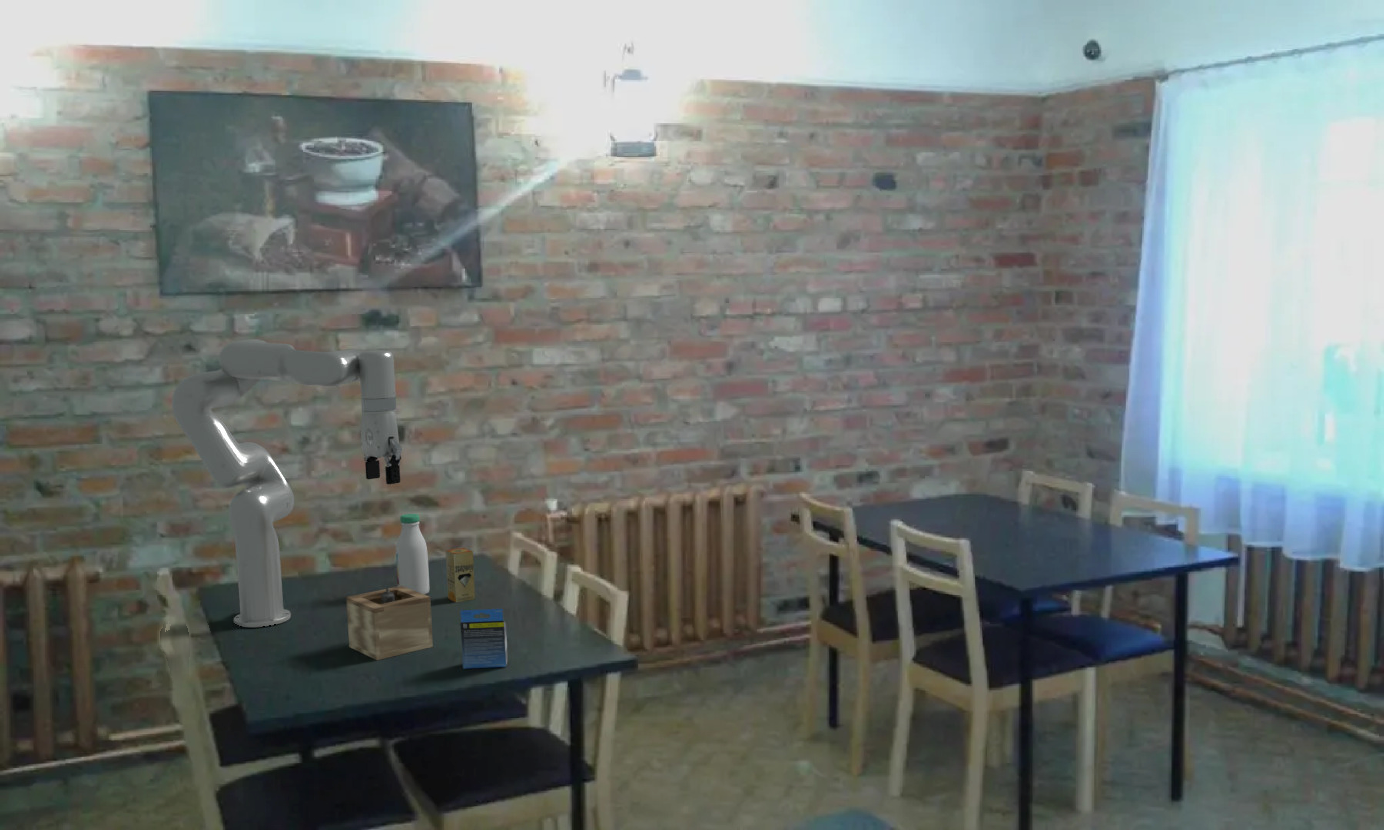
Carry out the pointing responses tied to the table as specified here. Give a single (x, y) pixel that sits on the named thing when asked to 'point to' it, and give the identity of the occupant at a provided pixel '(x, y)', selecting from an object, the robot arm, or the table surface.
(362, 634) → the box
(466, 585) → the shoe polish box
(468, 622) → the label tape cartridge
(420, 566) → the milk bottle
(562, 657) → the table surface
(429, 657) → the table surface
